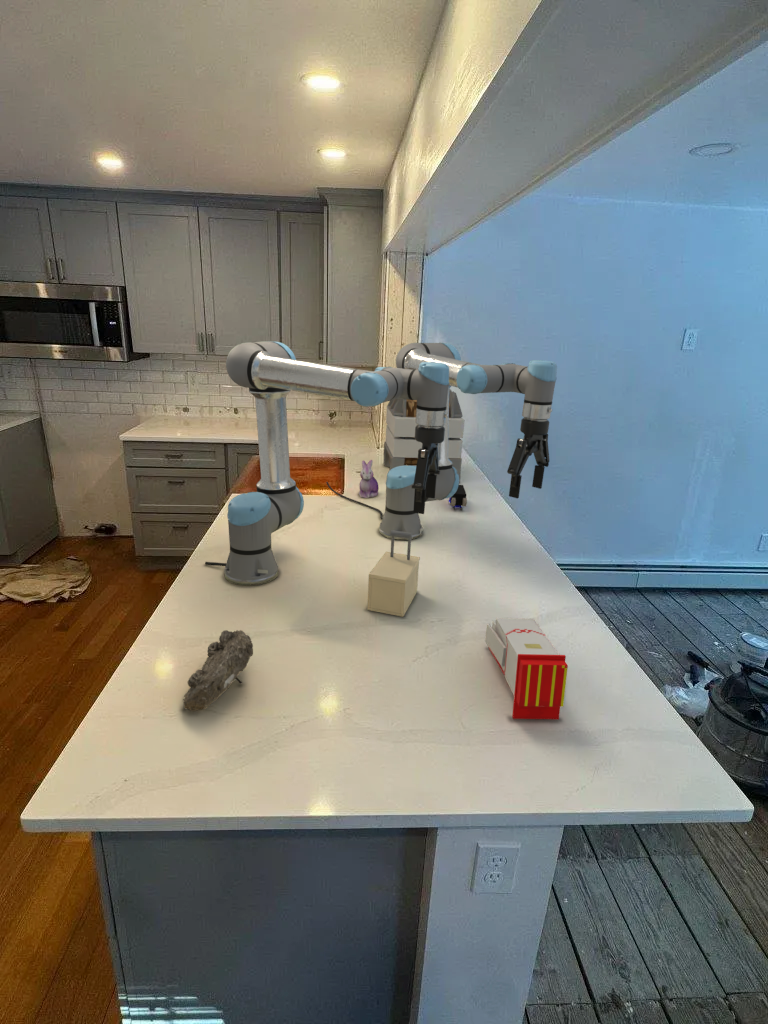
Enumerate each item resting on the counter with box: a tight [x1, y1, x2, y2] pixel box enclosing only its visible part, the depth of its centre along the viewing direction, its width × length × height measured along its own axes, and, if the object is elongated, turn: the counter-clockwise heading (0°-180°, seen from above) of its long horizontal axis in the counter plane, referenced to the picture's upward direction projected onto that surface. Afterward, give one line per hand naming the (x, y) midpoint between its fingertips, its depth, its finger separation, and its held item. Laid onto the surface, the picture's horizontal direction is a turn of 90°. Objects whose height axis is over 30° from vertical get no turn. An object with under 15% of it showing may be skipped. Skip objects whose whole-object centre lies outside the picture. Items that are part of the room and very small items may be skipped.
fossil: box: [182, 629, 254, 712], centre depth 117 cm, size 22×10×15 cm
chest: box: [367, 561, 420, 618], centre depth 152 cm, size 15×10×10 cm
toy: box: [484, 617, 569, 720], centre depth 122 cm, size 12×13×30 cm
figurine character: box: [448, 484, 468, 511], centre depth 230 cm, size 7×8×15 cm
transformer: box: [383, 388, 465, 483], centre depth 268 cm, size 34×33×41 cm
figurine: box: [358, 459, 380, 499], centre depth 237 cm, size 9×10×15 cm
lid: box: [368, 530, 421, 583], centre depth 150 cm, size 15×10×9 cm, turn 163°
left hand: (424, 505), depth 151 cm, fingers open, 13 cm apart
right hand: (525, 492), depth 163 cm, fingers open, 13 cm apart
